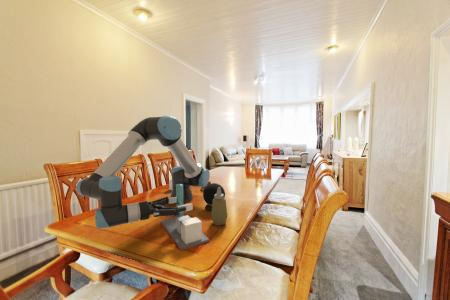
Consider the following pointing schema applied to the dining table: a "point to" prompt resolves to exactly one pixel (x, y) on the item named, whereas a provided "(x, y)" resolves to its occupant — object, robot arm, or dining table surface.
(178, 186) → the tube
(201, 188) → the bell
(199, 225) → the socket
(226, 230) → the dining table surface
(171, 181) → the container
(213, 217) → the squeeze bottle
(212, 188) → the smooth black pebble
